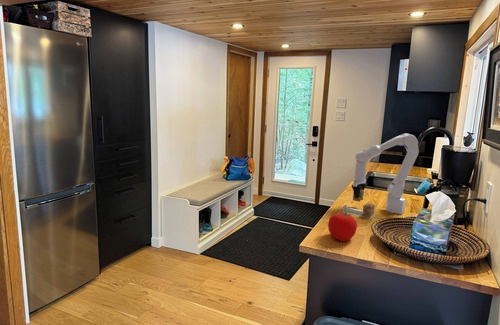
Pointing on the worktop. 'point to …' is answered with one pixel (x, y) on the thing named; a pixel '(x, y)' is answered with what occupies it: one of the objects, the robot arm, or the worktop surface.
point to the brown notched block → (359, 196)
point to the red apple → (342, 226)
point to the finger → (368, 210)
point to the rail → (354, 211)
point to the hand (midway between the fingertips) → (358, 196)
